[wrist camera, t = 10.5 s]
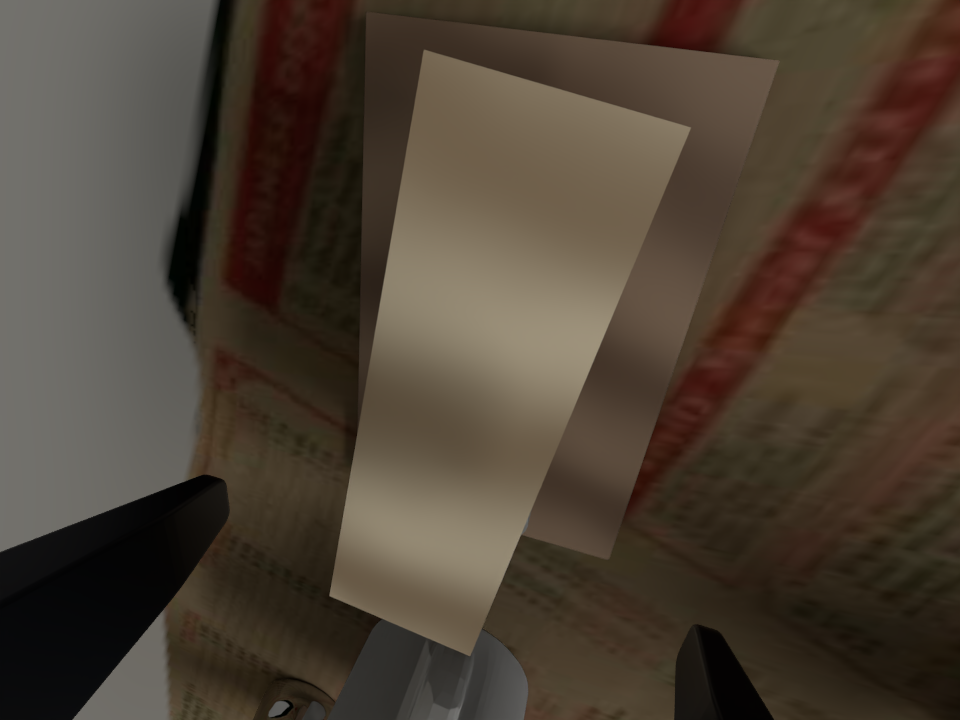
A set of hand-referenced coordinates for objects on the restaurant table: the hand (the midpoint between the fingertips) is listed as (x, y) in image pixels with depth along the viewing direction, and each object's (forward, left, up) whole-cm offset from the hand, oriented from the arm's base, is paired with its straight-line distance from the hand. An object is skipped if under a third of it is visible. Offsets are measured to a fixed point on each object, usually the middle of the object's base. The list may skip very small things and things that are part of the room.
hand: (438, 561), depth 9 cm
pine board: (0, +1, -8) cm, 8 cm away
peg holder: (0, +1, -12) cm, 12 cm away
